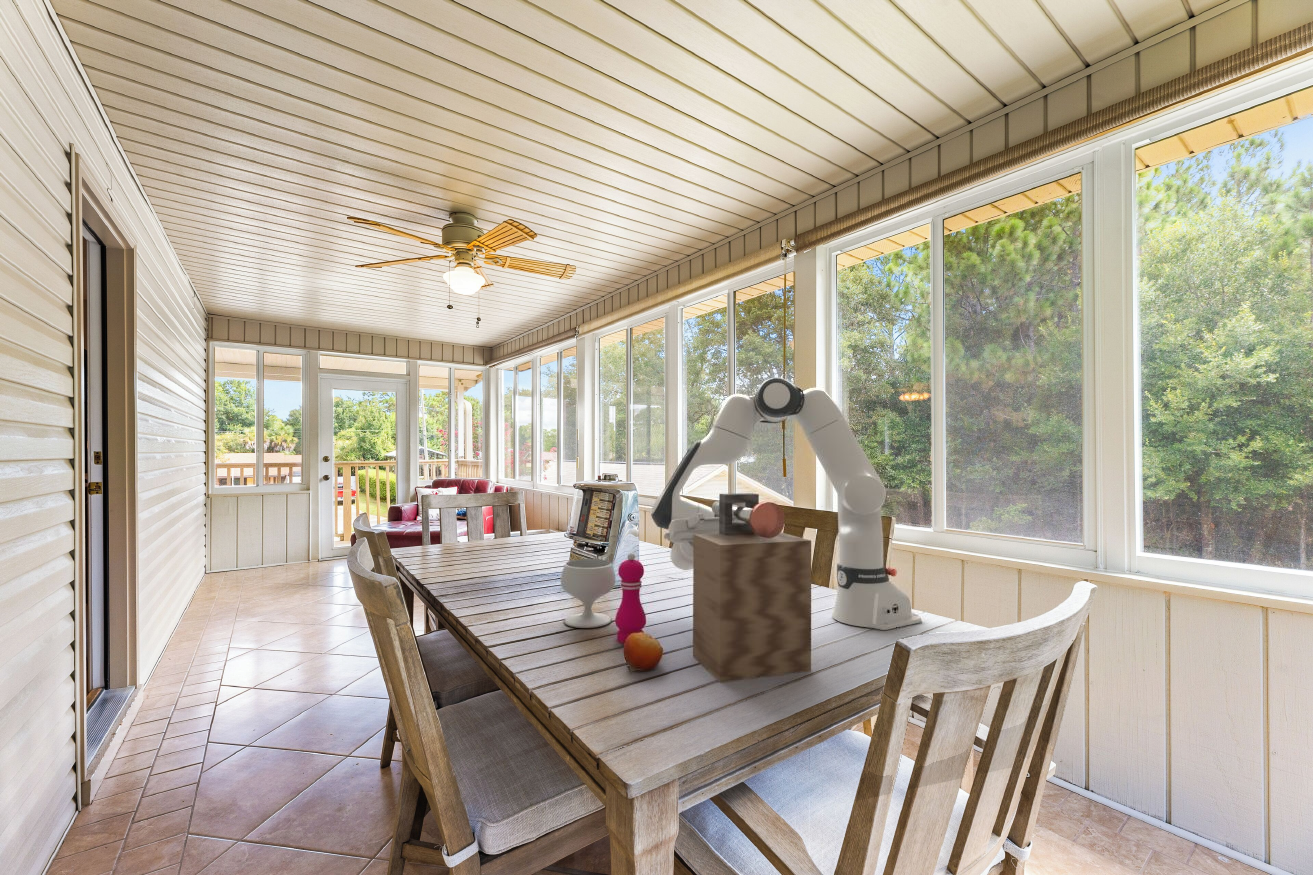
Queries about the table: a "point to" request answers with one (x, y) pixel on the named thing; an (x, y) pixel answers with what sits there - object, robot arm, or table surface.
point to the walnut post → (750, 599)
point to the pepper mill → (630, 599)
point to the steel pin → (759, 517)
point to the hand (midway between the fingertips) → (719, 515)
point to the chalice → (588, 589)
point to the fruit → (642, 652)
